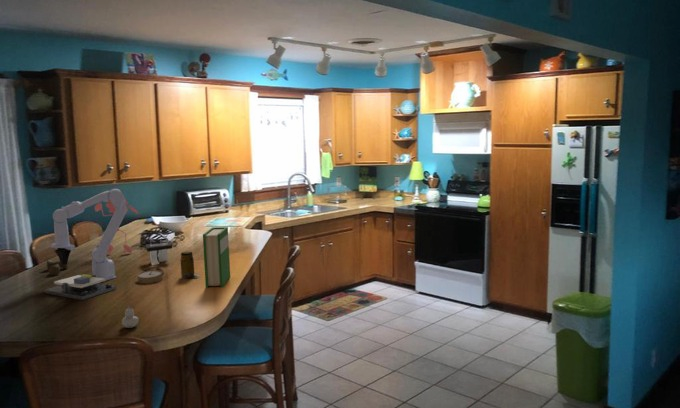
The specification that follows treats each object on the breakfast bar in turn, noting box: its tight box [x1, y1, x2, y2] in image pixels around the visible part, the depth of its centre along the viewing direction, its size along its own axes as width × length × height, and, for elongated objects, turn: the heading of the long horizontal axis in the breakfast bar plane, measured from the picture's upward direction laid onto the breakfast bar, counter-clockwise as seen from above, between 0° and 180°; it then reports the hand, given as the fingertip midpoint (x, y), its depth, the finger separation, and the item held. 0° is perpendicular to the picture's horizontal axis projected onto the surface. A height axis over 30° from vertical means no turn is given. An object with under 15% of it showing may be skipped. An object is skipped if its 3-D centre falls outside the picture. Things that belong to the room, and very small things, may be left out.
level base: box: [44, 274, 117, 301], centre depth 236 cm, size 25×17×6 cm
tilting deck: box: [53, 273, 106, 288], centre depth 236 cm, size 18×12×3 cm, turn 62°
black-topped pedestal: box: [145, 237, 173, 266], centre depth 285 cm, size 28×26×13 cm
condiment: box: [178, 251, 201, 280], centre depth 256 cm, size 7×8×12 cm
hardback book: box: [202, 226, 231, 289], centre depth 245 cm, size 18×7×24 cm, turn 0°
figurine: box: [94, 195, 140, 256], centre depth 311 cm, size 15×26×35 cm, turn 89°
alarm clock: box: [136, 267, 165, 284], centre depth 254 cm, size 11×5×15 cm
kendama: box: [46, 258, 69, 276], centre depth 274 cm, size 6×10×20 cm
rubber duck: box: [121, 305, 139, 329], centre depth 190 cm, size 5×7×8 cm
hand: (64, 264), depth 247 cm, fingers closed
